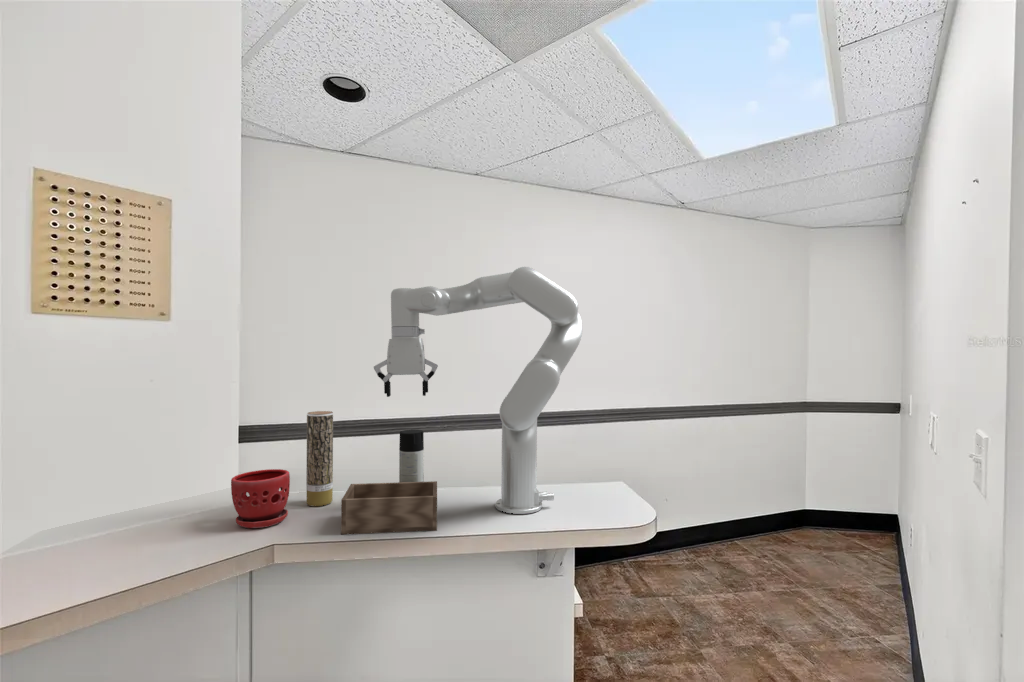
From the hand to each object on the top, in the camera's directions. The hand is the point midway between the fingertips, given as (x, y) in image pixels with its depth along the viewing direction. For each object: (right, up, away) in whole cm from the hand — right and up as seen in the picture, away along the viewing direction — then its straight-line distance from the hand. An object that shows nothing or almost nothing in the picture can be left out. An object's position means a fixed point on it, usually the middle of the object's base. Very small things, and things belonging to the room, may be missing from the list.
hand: (406, 395), depth 146 cm
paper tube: (-24, -30, 0) cm, 38 cm away
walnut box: (-1, -30, -14) cm, 33 cm away
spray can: (+1, -30, +1) cm, 30 cm away
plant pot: (-33, -30, -15) cm, 47 cm away
